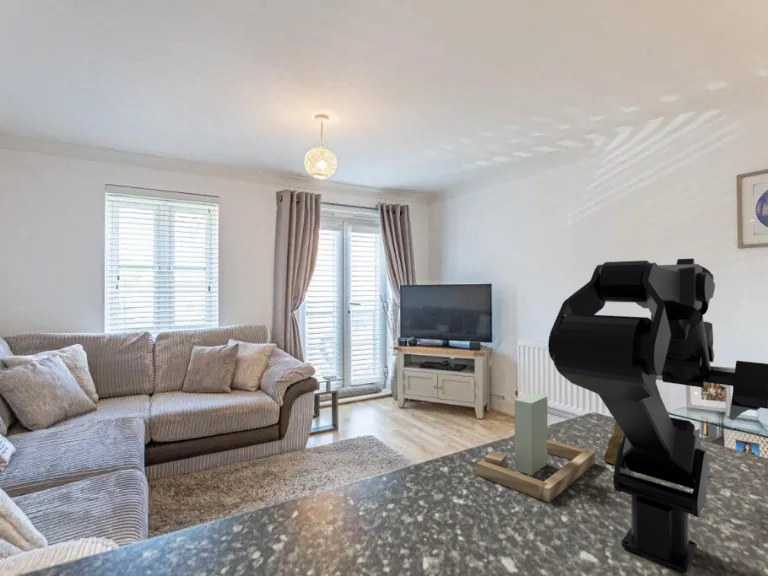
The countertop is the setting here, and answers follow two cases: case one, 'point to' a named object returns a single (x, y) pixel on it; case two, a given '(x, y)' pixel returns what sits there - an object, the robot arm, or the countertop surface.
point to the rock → (613, 445)
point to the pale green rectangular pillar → (530, 433)
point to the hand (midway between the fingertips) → (693, 410)
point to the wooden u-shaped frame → (553, 484)
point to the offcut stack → (497, 459)
